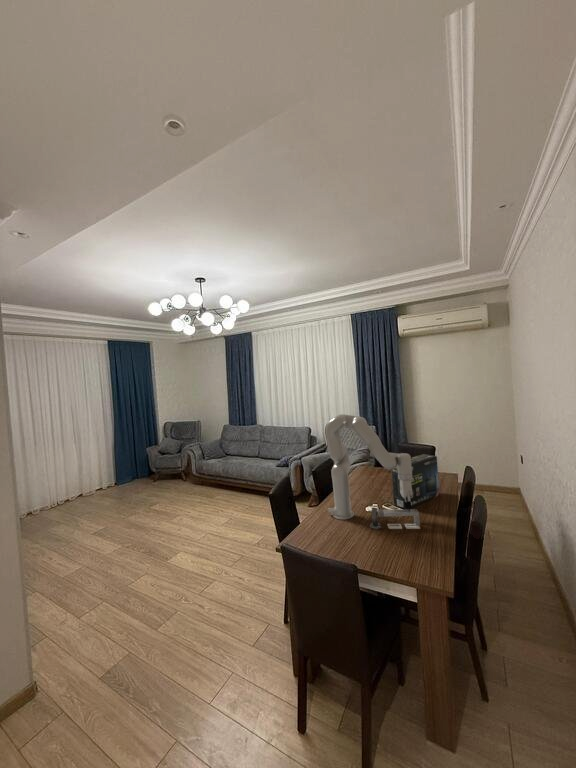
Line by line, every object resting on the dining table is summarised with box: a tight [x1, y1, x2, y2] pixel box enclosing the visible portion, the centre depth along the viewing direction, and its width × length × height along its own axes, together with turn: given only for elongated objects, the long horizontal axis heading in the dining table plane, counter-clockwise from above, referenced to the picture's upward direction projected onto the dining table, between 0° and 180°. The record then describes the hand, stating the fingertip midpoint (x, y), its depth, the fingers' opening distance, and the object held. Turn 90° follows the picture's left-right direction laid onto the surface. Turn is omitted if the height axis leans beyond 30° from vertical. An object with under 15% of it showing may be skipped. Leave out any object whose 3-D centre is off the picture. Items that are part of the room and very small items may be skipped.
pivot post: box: [369, 506, 382, 530], centre depth 166 cm, size 6×6×10 cm
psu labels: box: [387, 523, 421, 530], centre depth 163 cm, size 16×5×1 cm, turn 81°
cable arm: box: [377, 508, 421, 527], centre depth 164 cm, size 20×4×7 cm, turn 81°
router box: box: [391, 453, 440, 509], centre depth 198 cm, size 36×11×27 cm, turn 123°
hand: (408, 508), depth 171 cm, fingers closed
